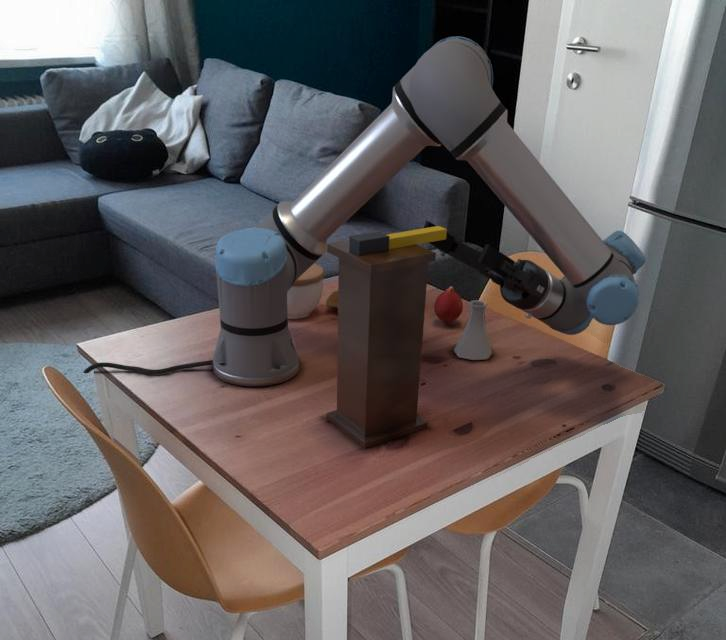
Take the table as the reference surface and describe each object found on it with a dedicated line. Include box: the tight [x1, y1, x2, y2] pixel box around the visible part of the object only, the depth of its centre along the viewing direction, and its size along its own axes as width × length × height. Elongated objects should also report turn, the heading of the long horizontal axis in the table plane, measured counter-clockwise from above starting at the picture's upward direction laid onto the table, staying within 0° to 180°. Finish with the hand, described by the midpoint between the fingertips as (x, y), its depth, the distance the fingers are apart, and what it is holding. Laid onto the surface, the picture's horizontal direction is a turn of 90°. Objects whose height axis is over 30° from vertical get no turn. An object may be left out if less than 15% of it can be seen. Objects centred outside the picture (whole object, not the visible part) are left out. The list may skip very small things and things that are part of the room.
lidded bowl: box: [287, 262, 325, 320], centre depth 163 cm, size 13×13×11 cm
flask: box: [453, 299, 493, 361], centre depth 149 cm, size 7×7×10 cm
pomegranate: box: [433, 286, 464, 325], centre depth 161 cm, size 6×6×8 cm
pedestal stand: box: [325, 232, 437, 449], centre depth 120 cm, size 12×11×28 cm
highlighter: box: [348, 225, 448, 256], centre depth 113 cm, size 16×3×2 cm, turn 124°
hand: (452, 240), depth 119 cm, fingers open, 13 cm apart
